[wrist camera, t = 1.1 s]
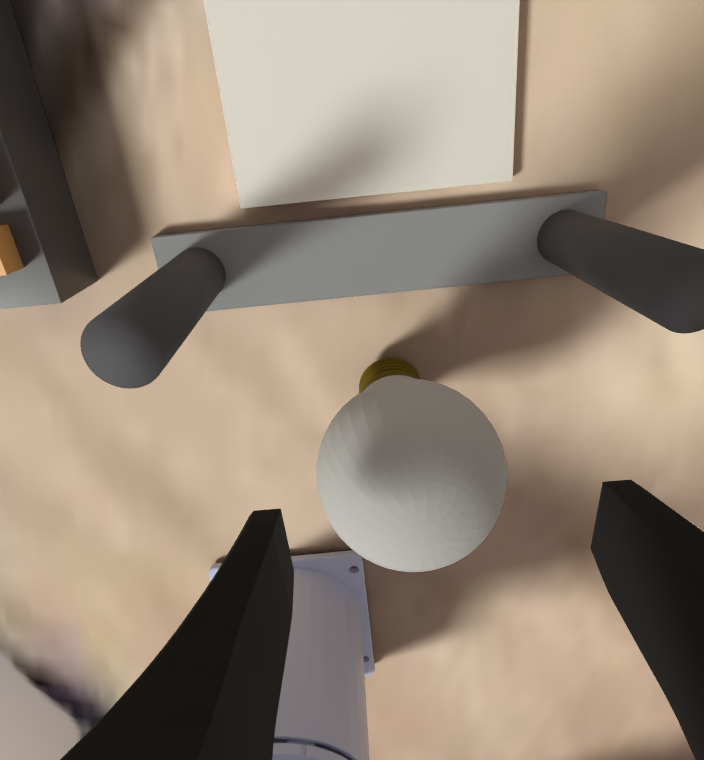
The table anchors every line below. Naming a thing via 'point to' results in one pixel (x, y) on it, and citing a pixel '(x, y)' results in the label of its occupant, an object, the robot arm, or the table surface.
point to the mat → (365, 95)
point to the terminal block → (33, 191)
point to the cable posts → (390, 269)
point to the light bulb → (410, 471)
